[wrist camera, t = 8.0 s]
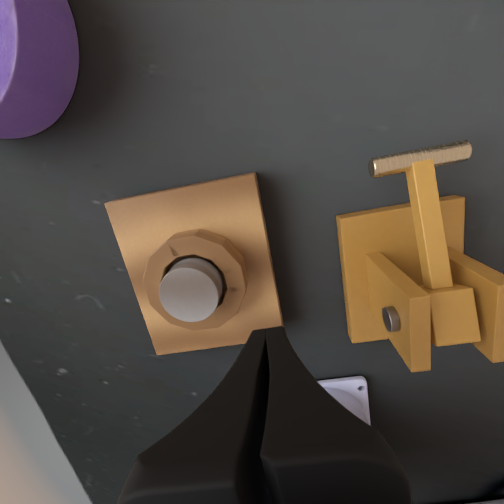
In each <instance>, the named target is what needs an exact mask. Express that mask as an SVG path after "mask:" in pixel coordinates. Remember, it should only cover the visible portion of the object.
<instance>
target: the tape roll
mask: <svg viewBox="0 0 504 504" xmlns="http://www.w3.org/2000/svg"><path fill="white" fill-rule="evenodd" d="M78 70H79V46H78V37H77V31H76V26H75V22H74V18H73V15H72V12H71V9H70V6H69V4H68V1H67V0H0V138H1V139H19V138H25V137H29V136H32V135H35V134H37V133H39V132H42V131H43V130H45V129H47V128H48V127H49V126H51V125H52V124H54V123H55V121H56V120H57V119H58V118H59V117H60V116H61V115H62V114H63V112H64V111H65V109H66V108H67V106H68V104H69V102H70V100H71V98H72V95H73V93H74V90H75V86H76V82H77V77H78Z"/></svg>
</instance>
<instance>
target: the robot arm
mask: <svg viewBox="0 0 504 504" xmlns="http://www.w3.org/2000/svg"><path fill="white" fill-rule="evenodd" d="M359 386H362V387H359ZM116 504H413V501H412V489H411V485H410V481H409V479H408V477H407V475H406V473H405V471H404V469H403V467H402V465H401V463H400V462H399V460H398V458H397V457H396V455H395V453H394V452H393V450H392V449H391V447H390V446H389V444H388V443H387V442H386V440H385V439H384V437H383V436H382V435H381V433H380V432H379V431H378V430H376V429H375V428H373V427H372V426H371V425H370V413H369V402H368V391H367V382H366V379H365V378H364V377H363V376H355V377H346V378H338V379H329V380H320V381H317V380H316V379H315V378H314V377H313V376H312V375H311V373H310V372H309V371H308V370H307V368H306V367H305V366H304V364H303V363H302V362H301V360H300V359H299V357H298V356H297V354H296V353H295V351H294V349H293V348H292V346H291V344H290V342H289V340H288V338H287V336H286V333H285V328H284V327H282V326H278V327H271V328H264V329H257V330H253V331H252V332H251V334H250V336H249V338H248V340H247V342H246V344H245V345H244V347H243V349H242V351H241V352H240V354H239V356H238V357H237V359H236V361H235V362H234V364H233V365H232V367H231V368H230V370H229V371H228V373H227V374H226V376H225V377H224V378H223V380H222V381H221V382H220V384H219V385H218V386H217V388H216V389H215V390H214V391H213V392H212V394H211V395H210V396H209V397H208V398H207V399H206V400H205V401H204V402H203V403H202V404H201V405H200V406H199V407H198V408H197V409H196V410H195V411H194V412H193V413H192V414H191V415H190V416H189V417H188V418H187V419H185V420H184V421H183V422H182V423H181V424H180V425H178V426H177V427H176V428H175V429H174V430H172V431H171V432H170V433H169V434H167V435H166V436H165V437H163V438H162V439H161V440H159V441H158V442H156V443H155V444H154V445H152V446H151V447H150V448H148V449H147V450H145V451H144V452H142V453H141V454H139V455H138V457H137V459H136V461H135V463H134V465H133V467H132V469H131V471H130V473H129V475H128V477H127V480H126V482H125V484H124V487H123V489H122V491H121V494H120V496H119V499H118V501H117V503H116Z"/></svg>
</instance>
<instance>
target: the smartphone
mask: <svg viewBox="0 0 504 504" xmlns="http://www.w3.org/2000/svg"><path fill="white" fill-rule="evenodd" d="M459 504H460V503H459ZM466 504H504V499H499V500H490V501H482V502H474V503H466Z"/></svg>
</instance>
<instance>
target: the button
mask: <svg viewBox="0 0 504 504" xmlns="http://www.w3.org/2000/svg"><path fill="white" fill-rule="evenodd" d="M222 289H223V282H222V278H221V275H220V273H219V272H218V270H217V269H216V268H215V267H214V266H213V265H212V264H211V263H209V262H207V261H205V260H203V259H199V258H187V259H183V260H181V261H179V262H177V263H176V264H175V265H174V266H173V267H172V268H171V269H170V271H169V272H168V273H167V274H166V275H165V277H164V278H163V279H162V281H161V283H160V286H159V298H160V301H161V304H162V306H163V307H164V309H165V310H166V311H167V312H168V313H169V314H170V315H171V316H173V317H174V318H176V319H179V320H181V321H185V322H197V321H201V320H204V319H206V318H207V317H209V316H210V315H211V314H212V313H213V312H214V311H215V309H216V307H217V305H218V302H219V299H220V296H221V293H222Z"/></svg>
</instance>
